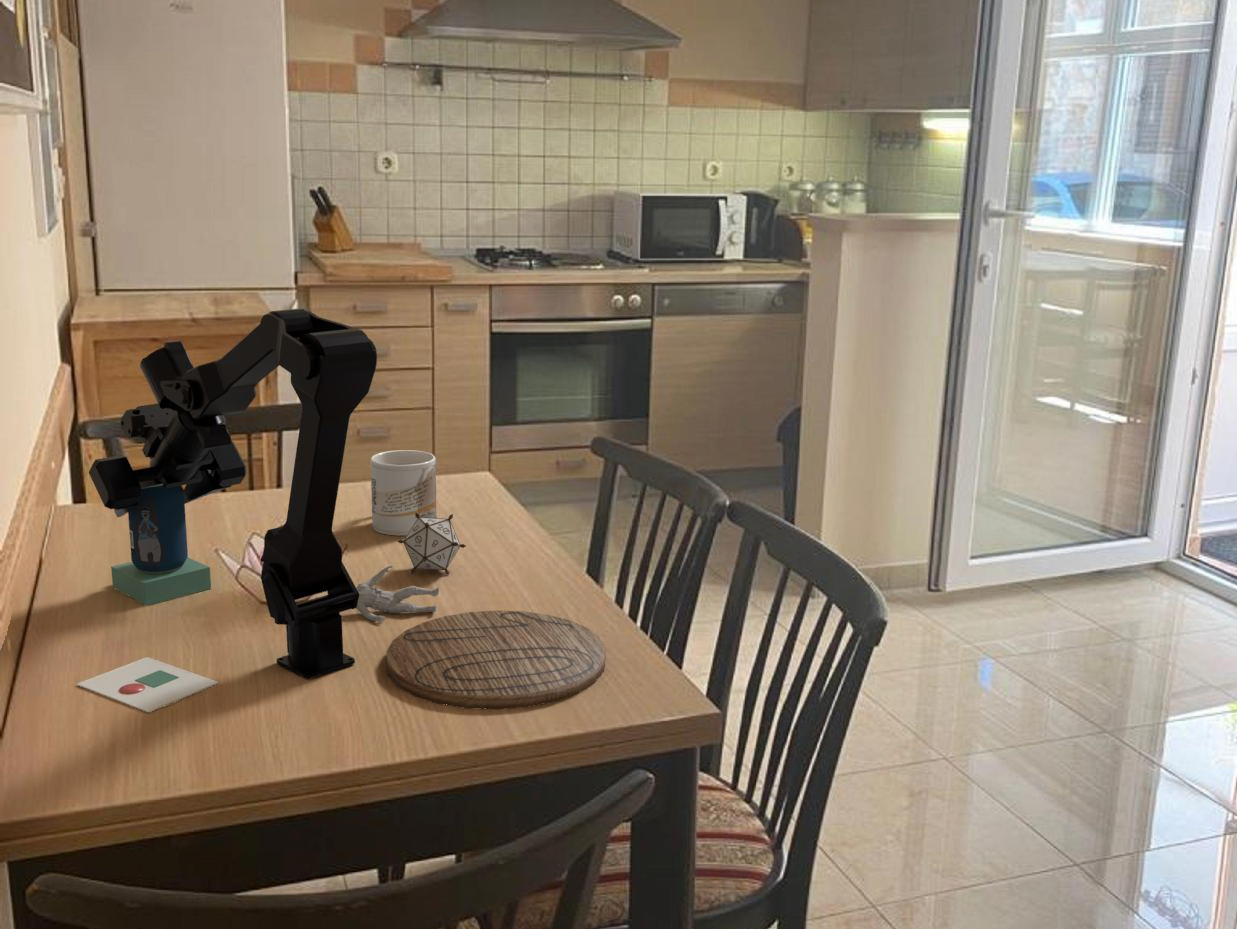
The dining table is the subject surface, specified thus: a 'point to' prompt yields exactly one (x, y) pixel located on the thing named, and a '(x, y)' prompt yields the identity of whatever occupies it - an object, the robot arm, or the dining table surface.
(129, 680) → the page
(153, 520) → the soda can
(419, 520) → the game die
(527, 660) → the trivet
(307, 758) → the dining table surface
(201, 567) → the base brick
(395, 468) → the mug
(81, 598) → the dining table surface
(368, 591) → the soldier figure
